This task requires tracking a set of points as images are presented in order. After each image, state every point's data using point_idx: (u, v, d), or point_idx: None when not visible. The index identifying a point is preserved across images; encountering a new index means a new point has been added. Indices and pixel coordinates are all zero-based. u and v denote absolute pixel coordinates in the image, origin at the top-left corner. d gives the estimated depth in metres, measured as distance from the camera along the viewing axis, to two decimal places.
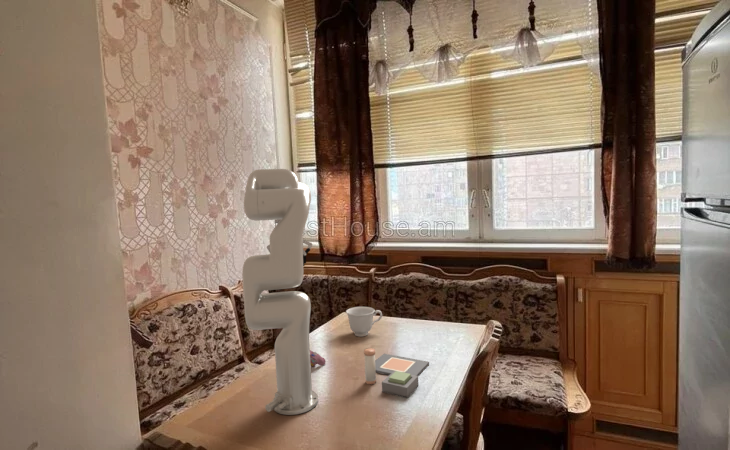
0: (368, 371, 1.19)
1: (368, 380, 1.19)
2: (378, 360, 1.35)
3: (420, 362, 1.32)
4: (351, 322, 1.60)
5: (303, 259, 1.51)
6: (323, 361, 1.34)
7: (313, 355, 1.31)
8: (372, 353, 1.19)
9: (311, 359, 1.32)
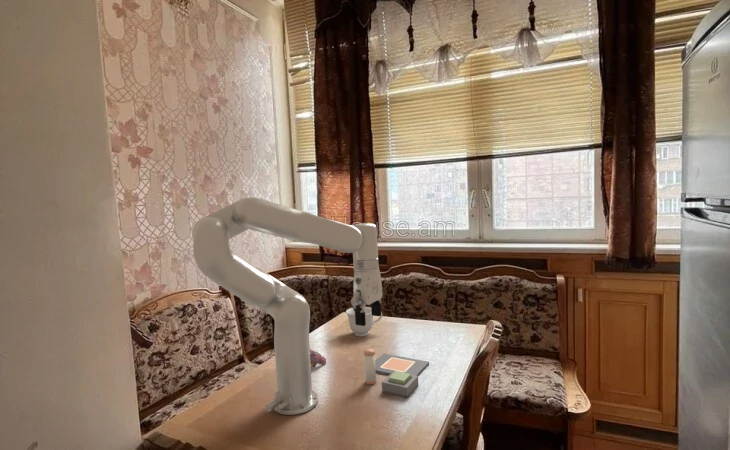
0: (368, 371, 1.19)
1: (368, 380, 1.19)
2: (378, 360, 1.35)
3: (420, 362, 1.32)
4: (351, 322, 1.60)
5: (380, 308, 1.23)
6: (324, 360, 1.34)
7: (314, 354, 1.32)
8: (372, 353, 1.19)
9: (312, 358, 1.32)
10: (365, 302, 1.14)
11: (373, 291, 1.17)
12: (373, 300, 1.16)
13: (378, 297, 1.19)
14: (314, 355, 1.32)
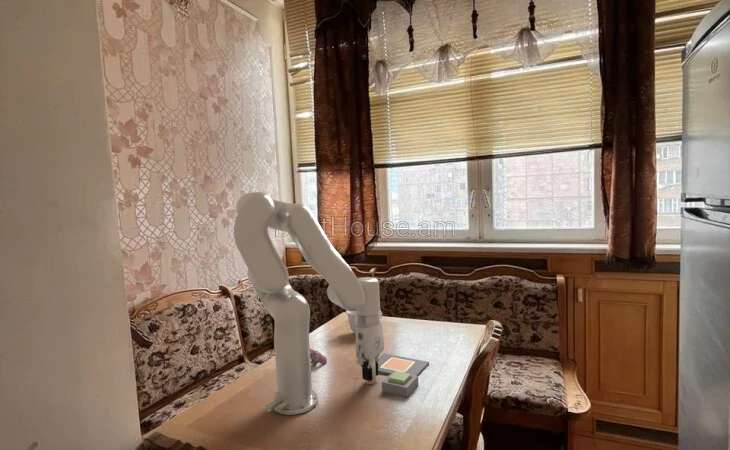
0: None
1: None
2: None
3: (420, 362, 1.32)
4: (351, 322, 1.60)
5: (377, 367, 1.21)
6: (324, 360, 1.35)
7: (315, 354, 1.32)
8: None
9: (313, 358, 1.33)
10: (367, 358, 1.15)
11: (375, 346, 1.18)
12: (375, 355, 1.18)
13: (380, 351, 1.20)
14: (315, 354, 1.32)
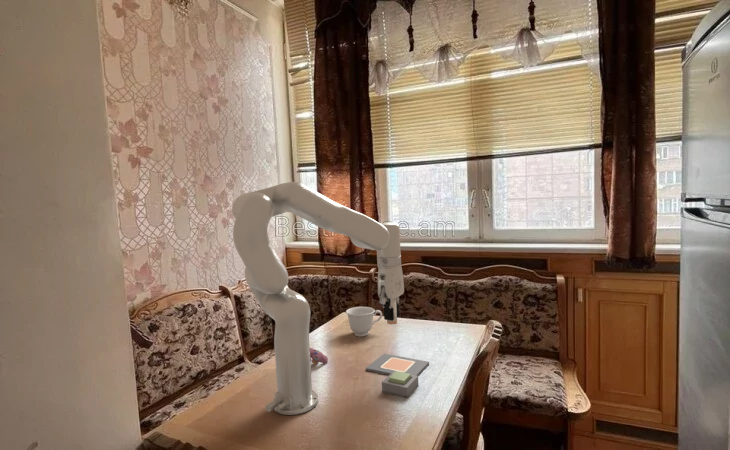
0: None
1: (390, 320, 1.25)
2: (378, 360, 1.35)
3: (420, 362, 1.32)
4: (351, 322, 1.60)
5: (398, 309, 1.27)
6: (325, 359, 1.35)
7: (316, 353, 1.33)
8: None
9: (314, 357, 1.33)
10: (389, 297, 1.21)
11: (396, 287, 1.23)
12: (396, 295, 1.23)
13: (400, 292, 1.26)
14: (316, 354, 1.33)
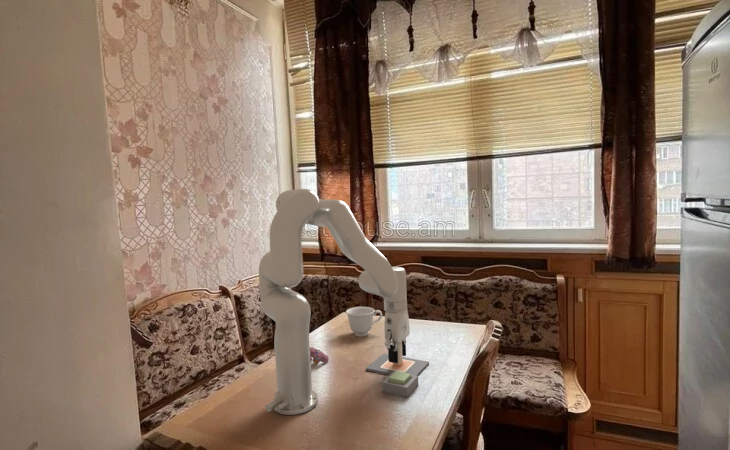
0: None
1: None
2: (378, 360, 1.35)
3: (420, 362, 1.32)
4: (351, 322, 1.60)
5: (405, 348, 1.32)
6: (326, 358, 1.36)
7: (317, 352, 1.34)
8: None
9: (315, 356, 1.34)
10: (395, 341, 1.25)
11: (402, 330, 1.27)
12: (402, 338, 1.27)
13: (406, 335, 1.30)
14: (317, 353, 1.33)
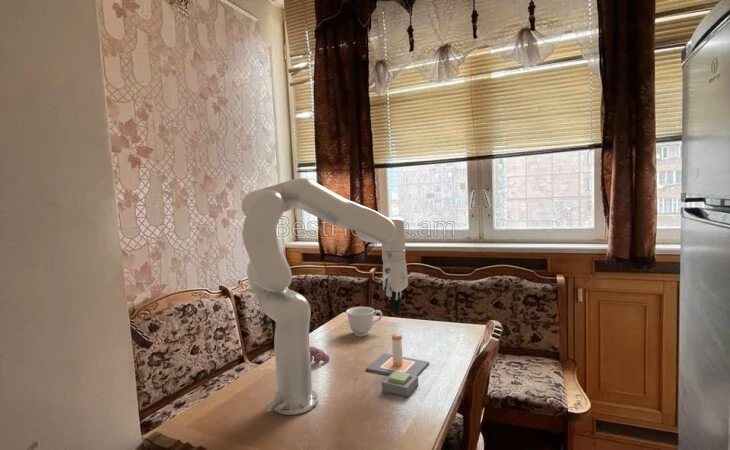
0: (396, 354, 1.29)
1: (395, 362, 1.29)
2: (378, 360, 1.35)
3: (420, 362, 1.32)
4: (351, 322, 1.60)
5: (400, 303, 1.29)
6: (327, 358, 1.37)
7: (317, 352, 1.34)
8: (399, 337, 1.28)
9: (315, 356, 1.34)
10: (394, 290, 1.23)
11: (400, 280, 1.26)
12: (400, 288, 1.26)
13: (404, 286, 1.29)
14: (318, 352, 1.34)
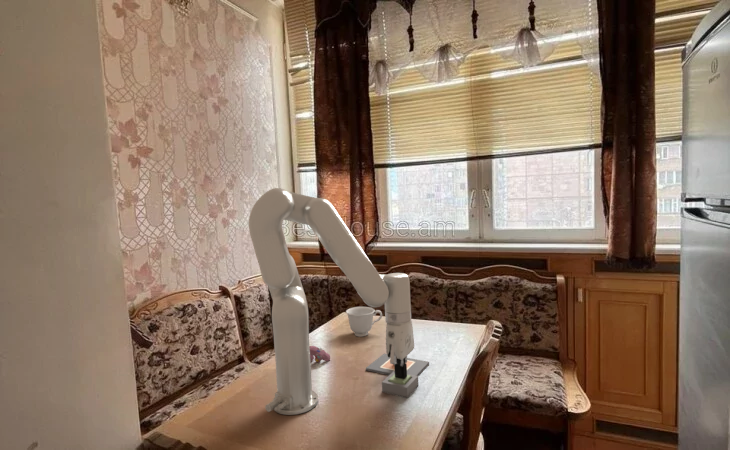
0: None
1: None
2: (378, 360, 1.35)
3: (420, 362, 1.32)
4: (351, 322, 1.60)
5: (406, 369, 1.15)
6: (328, 357, 1.37)
7: (318, 351, 1.35)
8: None
9: (316, 355, 1.35)
10: (399, 357, 1.10)
11: (406, 344, 1.13)
12: (406, 354, 1.12)
13: (410, 349, 1.15)
14: (319, 352, 1.35)
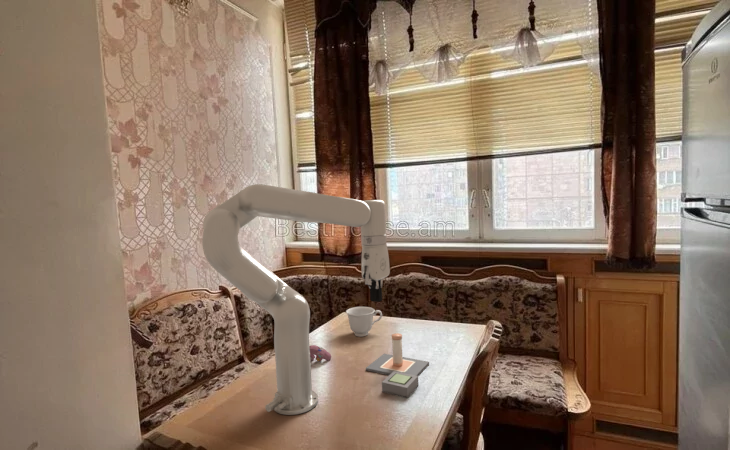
0: (396, 354, 1.29)
1: (395, 362, 1.29)
2: (378, 360, 1.35)
3: (420, 362, 1.32)
4: (351, 322, 1.60)
5: (381, 292, 1.19)
6: (329, 356, 1.38)
7: (320, 350, 1.35)
8: (399, 337, 1.28)
9: (318, 354, 1.36)
10: (373, 277, 1.14)
11: (381, 267, 1.17)
12: (381, 276, 1.17)
13: (386, 274, 1.19)
14: (320, 351, 1.35)
